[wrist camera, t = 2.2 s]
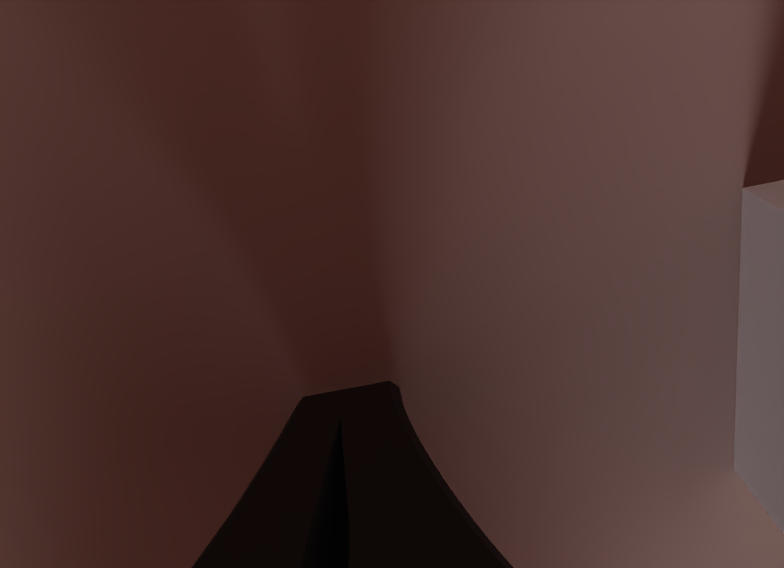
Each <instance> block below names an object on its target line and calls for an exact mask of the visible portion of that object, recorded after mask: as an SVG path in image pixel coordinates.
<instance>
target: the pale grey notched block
mask: <svg viewBox="0 0 784 568" xmlns="http://www.w3.org/2000/svg"><path fill="white" fill-rule="evenodd" d="M734 470H735V471H736V473H737V474H738V475H739V477H740V478H741V479H742V480H743V482H744V483H745V484H746V486H747V487H748V488H749V490H750V491H751V492H752V494H753V495H754V496H755V497H756V499H757V500H758V501H759V503H760V504H761V505H762V507H763V508H764V509H765V510H766V512H767V513H768V514H769V516H770V517H771V518H772V520H773V521H774V522H775V524H776V525H777V526H778V527H779V529H780V530H781V531H782V533H783V534H784V180H780V181H775V182H770V183H765V184H760V185H755V186H750V187H745V188H743V190H742V221H741V253H740V285H739V317H738V349H737V380H736V412H735V444H734Z"/></svg>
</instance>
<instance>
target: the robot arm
mask: <svg viewBox="0 0 784 568" xmlns="http://www.w3.org/2000/svg"><path fill="white" fill-rule="evenodd" d="M192 568H513V567H512V565H511V564H510V563H509V562H508V561H507V560H506V559H505V558H504V557H503V555H502V554H501V553H500V552H499V551H498V550H497V549H496V547H495V546H494V545H493V544H492V543H491V541H490V540H489V539H488V538H487V537H486V535H485V534H484V533H483V532H482V530H481V529H480V528H479V527H478V525H477V524H476V523H475V522H474V520H473V519H472V518H471V516H470V515H469V514H468V512H467V511H466V510H465V508H464V507H463V506H462V504H461V503H460V502H459V500H458V499H457V498H456V496H455V495H454V493H453V492H452V491H451V489H450V488H449V486H448V485H447V483H446V482H445V480H444V479H443V477H442V476H441V474H440V473H439V471H438V470H437V468H436V466H435V465H434V463H433V462H432V460H431V458H430V457H429V455H428V454H427V452H426V451H425V449H424V447H423V445H422V444H421V442H420V440H419V438H418V436H417V435H416V433H415V431H414V429H413V427H412V425H411V422H410V420H409V418H408V416H407V414H406V411H405V409H404V406H403V402H402V398H401V393H400V388H399V386H397V385H396V384H394V383H392V382H391V381H386V382H381V383H376V384H370V385H365V386H360V387H354V388H349V389H343V390H338V391H333V392H327V393H322V394H317V395H311V396H306V397H303V398H302V399H301V401H300V402H299V403H298V405H297V406H296V408H295V410H294V411H293V413H292V415H291V417H290V418H289V420H288V422H287V424H286V425H285V427H284V429H283V430H282V432H281V434H280V436H279V437H278V439H277V441H276V442H275V444H274V446H273V447H272V449H271V451H270V452H269V454H268V456H267V457H266V459H265V461H264V462H263V464H262V466H261V467H260V469H259V470H258V472H257V474H256V475H255V477H254V478H253V480H252V481H251V483H250V484H249V486H248V488H247V489H246V491H245V492H244V494H243V495H242V497H241V499H240V500H239V502H238V503H237V505H236V506H235V508H234V509H233V511H232V512H231V514H230V515H229V517H228V518H227V519H226V521H225V522H224V524H223V525H222V526H221V528H220V529H219V531H218V532H217V533H216V535H215V536H214V538H213V539H212V540H211V542H210V543H209V545H208V546H207V547H206V549H205V550H204V551H203V553H202V554H201V556H200V557H199V558H198V560H197V561H196V563H195V564H194V565H193V567H192Z"/></svg>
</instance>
